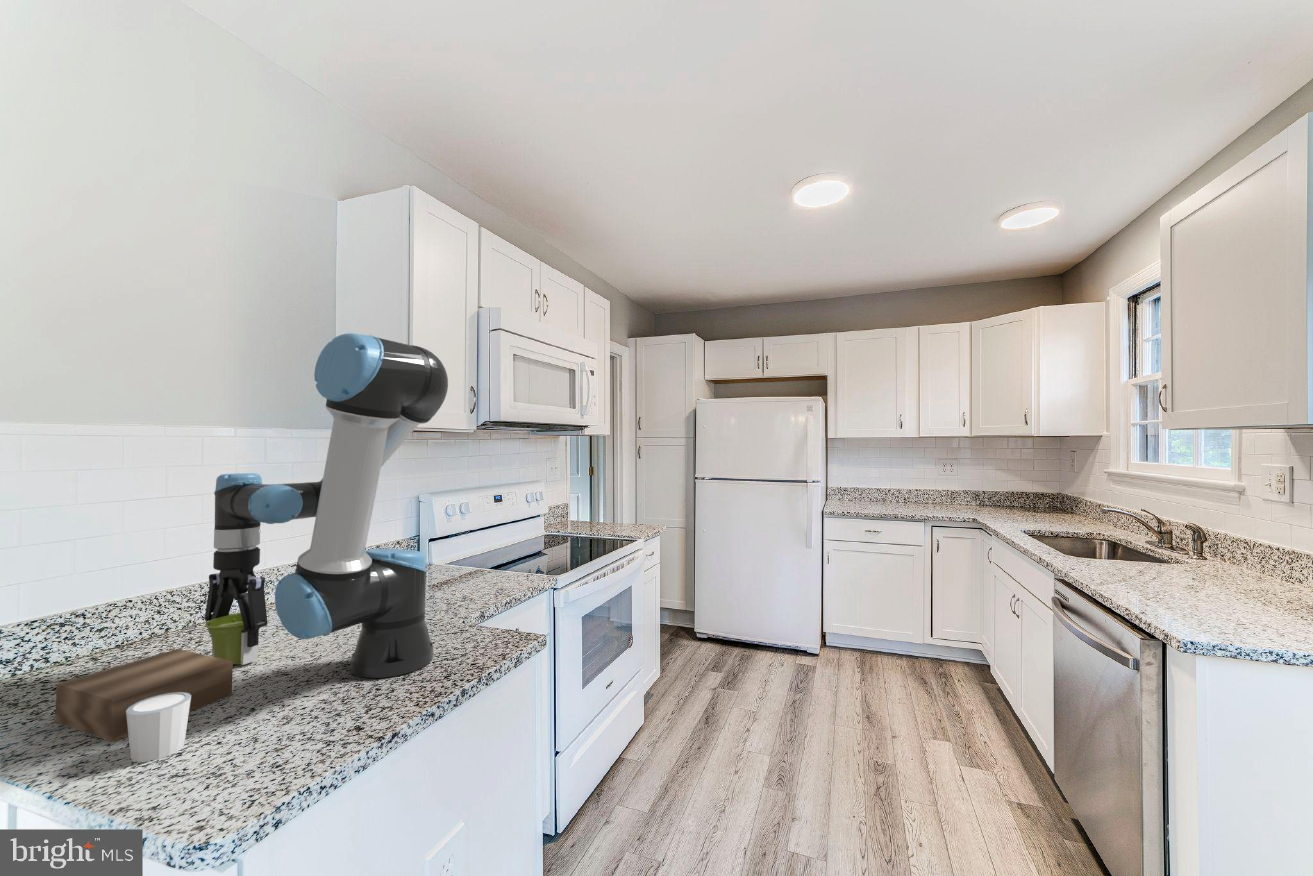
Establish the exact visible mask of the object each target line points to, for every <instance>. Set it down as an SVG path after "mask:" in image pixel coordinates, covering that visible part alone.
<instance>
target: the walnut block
mask: <svg viewBox="0 0 1313 876" xmlns="http://www.w3.org/2000/svg"><path fill="white" fill-rule="evenodd" d="M233 666H234V664H233V661H230V660H225V659H220V658H216V657H212V655H211V656H210V655H206V654H201V653H197V652H192V651H189V650H183V649H178V648H176V649H173V650H169V651H165V652H162V653H158V654H155V655H152V656H148V657H145V658H142V659H137V660H134V661H131V662H128V663H127V662H126V663H124V664H121V665H117V666H114V667H111V668H107V669H104V670H103V669H102V670H100V671H97V672H93V673H91V674H90V673H89V674H87V675H83V676H79V677H77V678H74V679H73V678H72V679H70V680H66V681H63V682H59V683H56V686H55V689H56V690H55V717H54V723H57V724H60V725H62V726H64V727H65V726H66V727H68V728H71V729H74V730H77V731H79V732H82V733H86V734H88V735H92V736H95V737H97V736H98V737H97V738H101V739H103V738H105V739H104V740H106V739H107V741H109V740H110V741H109V742H112V743H115V742H117V741H119V739H120V740H121V738H122V739H124V738H127V737H129V736H128V726H127V716H126V710H127V709H128V708H129V707H130V706H132V705H133V704H135V703H137V702H139V701H142V700H144V699H147V698H150V697H154V696H157V695H162V694H167V693H176V692H184V693H189V694H190V695H191V701H190V708H189V713H191V712H193V711H195V710H199V709H200V708H204V707H206V706H208V704H209V705H210V704H213V703H216V702H219V701H221V700H223V699H226V698H225V697H227V698H228V697H229V698H230V697H231V695H232V696H233V672H234V671H233V669H234V667H233ZM220 699H221V700H220ZM218 700H219V701H218ZM114 741H115V742H114Z"/></svg>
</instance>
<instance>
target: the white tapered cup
mask: <svg viewBox="0 0 1313 876" xmlns="http://www.w3.org/2000/svg"><path fill="white" fill-rule="evenodd" d="M190 701H191V695H190V694H189V693H184V692H176V693H167V694H162V695H157V696H154V697H150V698H147V699H144V700H142V701H139V702H137V703H135V704H133V705H132V706H130V707H129V708H128V709H127V710H126V716H127V726H128V736H127V737H128V743H129V755H130V760H131V759H132V760H133V761H137V762H136V763H143V762H142V761H149V762H151V761H150V760H153V761H157V760H160V759H159V758H161V759H163V758H166V757H169V756H171V755H173V754H175V753H177V752H178V751H180V750H181V749H182V748H184V745H185V742H186V736H187V729H188V728H187V727H188V722H189V721H188V720H189V715H190V712H189V708H190ZM156 759H157V760H156ZM132 760H131V761H132ZM133 761H132V762H133Z"/></svg>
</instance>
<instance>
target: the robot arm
mask: <svg viewBox="0 0 1313 876" xmlns="http://www.w3.org/2000/svg"><path fill="white" fill-rule="evenodd" d="M316 360H317V361H316V362H315V367H314V372H313V374H314V375H313V376H314V381H315V382H316V384H315V387H316V390H317V392H318V393H319V394H320V396H322V397H323V398H325V399H326V403H325V409H326V410H327V411H328V412H329V414H330V415H331V416H332V418H333V422H332V426H331V434H330V437H329V438H330V439H329V442H328V448H327V455H326V459H325V466H324V471H323V474H322V475H323V477H322V478H321V480H320V481H310V482H307V481H306V482H296V483H295V482H293V483H277V484H275V483H274V484H273V483H272V484H271V483H270V484H268V483H267V484H265V483H263V481H262V476H261V475H260V474H259V473H254V472H250V473H249V472H247V473H240V472H239V473H224V474H220V475H218V476H217V478H216V481H215V489H214V491H213V492H214V493H213V494H214V528H213V549H216V550H215V551H214V552H213V562H212V563H213V570H216V571H219V572H217V573H211V574H209V575H208V582H209V583H208V584H209V585H208V586H209V587H208V594H207V598H206V599H207V601H206V606H205V614H204V621H205V622H208V621H210V620H213V619H217V618H220V617H223V616H228V615H230V611H231V608H232V605H233V602H234V600H235V601H236V602H237V604H238V609H239V613H241V616H242V620H243V624H244V628H245V629H244V630H242V631H241V632H242V633H241V664H240V665H242V666H243V665H247V664H249V663H252V662H256V661H258V660H259V659H258V657H259V656H258V654H259V653H258V652H259V651H258V650H259V648H258V647H259V640H260V639H259V638H260V635H259V634H260V633H259V632H260V629H261V628H263V627H267V626H268V616H267V615H268V614H267V613H268V612H267V607H266V606H267V605H266V603H267V602H266V594H265V585H266V578H265V577H264V576H261V577H256V575H255V572H254V571H255V570H254V568H255V567H257V566H258V565H260V564H261V563H260V562H261V560H260V559H261V558H260V557H261V548H260V547H259V545H260V544H261V533H262V532H261V525H262V524H261V523H263V524H267V525H274V524H285V523H289V522H291V521H292V520H303V519H309V518H314V519H315V520H314V526H313V530H312V531H313V532H312V534H311V535H312V536H311V542H310V546H309V548H308V549H306V550H305V551H304V552H302V553H301V554H299V556H298V557H297V560H296V561H297V562H296V567H295V572H293V573H288V574H286V575H284V576H283V577H282V578H281V579H280V580H278V582H277V584H276V585H275V586H276V587H275V591H274V603H275V609H276V613H277V615H278V618H279V620H280V623H281V624H282V626H283V627H284V628H285V630H286V631H287V632H288V633H289V634H290V635H291V636H293V637H295V638H297V639H300V640H309V639H310V640H311V639H314V638H317V637H321V636H322V637H325V636H328V635H330V634H332V633H335V632H338V631H340V630H344V629H347V628H351V627H353V626H356V625H361V629H360V633H359V635H358V640H357V643H356V644H355V645H356V646H355V650H354V651H353V653H352V656H350V657H351V658H350V672H351V674H352V675H354V676H357V677H360V678H366V679H381V678H382V679H383V678H390V677H396V676H401V675H405V674H408V673H409V674H410V673H412V672H414V671H418V670H420V669H422V668H424V667H426V666H427V665H429V664H430V663H431V662H432V661H433V659H434V644H433V642H432V641H431V637H430V634H429V630H428V627H427V624H426V617H425V615H426V587H427V586H426V585H427V584H426V581H427V577H426V576H427V569H426V557H425V554H424V553H423V552H421V551H420V550H419V551H418V550H415V549H404V548H403V549H401V548H374V549H372V548H371V549H366V546H367V543H368V542H367V541H368V535H369V530H370V526H371V519H372V515H373V511H374V510H373V509H374V505H375V504H374V503H375V499H376V496H377V489H378V483H379V480H380V479H379V478H380V473H381V469H382V467H383V466H384V465H385V464H386V462H387V461H388V460H389V459H390V458H391V457H392V456H393V455H394V453H396V451H397V450H398V449H399V448H400V446H401V445H403V444H404V442H405V441H406V440H407V439H408V437H410V436H411V434H412V433H413V432H414V431H415V430H416V428H417V427H418V426H419V425H423V424H427V423H428V422H429V421H431V419H432V418H433V417H434V416H435V415H436V414H437V412H439V410H440V408H441V407H442V405H443V404H444V402H445V400H446V397H447V393H448V388H449V378H448V373H447V370H446V368H445V366H444V363H443V362H442V361H441V360H440V358H439V357H438V356H436V355H435V354H434V353H433V352H432V351H430V350H428V349H426V348H423V347H421V346H419V345H418V346H417V345H411V344H406V343H401V342H398V341H394V340H389V339H385V338H381V337H376V336H373V335H367V334H359V333H352V332H349V333H343V334H339V335H337V336H336V337H334V338H332V340H330V341H329V342H328V343H326V345H325V346H324V347H323V348H322V350H321V352H320V353H319V355H318V358H317V359H316ZM250 623H251V624H250ZM223 625H224V624H223ZM220 626H221V625H220ZM211 657H214V651H213V645H212V646H211Z"/></svg>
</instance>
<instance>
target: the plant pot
mask: <svg viewBox="0 0 1313 876" xmlns="http://www.w3.org/2000/svg"><path fill="white" fill-rule="evenodd" d="M223 624H224V625H223ZM250 624H251V623H250ZM204 625H205V628H207V630H208V633H209V634H210V638H211V644H212V645H213V651H214V657H216V658H220V659H225V660H230V661H233V665H235V666H236V665H237V666H238V665H242V664H241V633H242V632H241V631H242V630H244V629H245V628H244V624H243V620H242V616H241V613H240V612H239V613H231V614H229V615H228V616H223V617H220V618H217V619H213V620H210V621H206V623H204ZM220 625H221V626H220Z"/></svg>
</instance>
